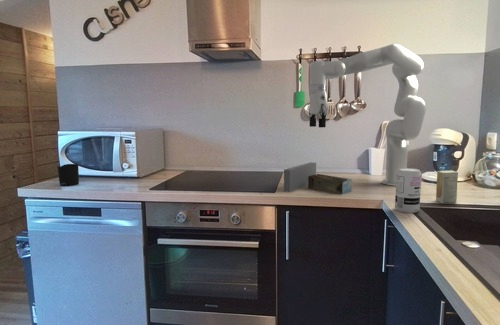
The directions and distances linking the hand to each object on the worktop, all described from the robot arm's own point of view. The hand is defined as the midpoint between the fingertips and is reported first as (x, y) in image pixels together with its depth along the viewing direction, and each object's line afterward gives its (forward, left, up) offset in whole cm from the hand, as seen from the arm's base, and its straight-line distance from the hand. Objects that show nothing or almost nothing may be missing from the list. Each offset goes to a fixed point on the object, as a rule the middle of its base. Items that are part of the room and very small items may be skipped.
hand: (317, 126), depth 167 cm
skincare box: (-54, -3, -29) cm, 62 cm away
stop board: (+7, +2, -29) cm, 30 cm away
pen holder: (+108, +61, -29) cm, 127 cm away
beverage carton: (-7, +1, -29) cm, 30 cm away
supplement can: (-44, +19, -29) cm, 56 cm away
